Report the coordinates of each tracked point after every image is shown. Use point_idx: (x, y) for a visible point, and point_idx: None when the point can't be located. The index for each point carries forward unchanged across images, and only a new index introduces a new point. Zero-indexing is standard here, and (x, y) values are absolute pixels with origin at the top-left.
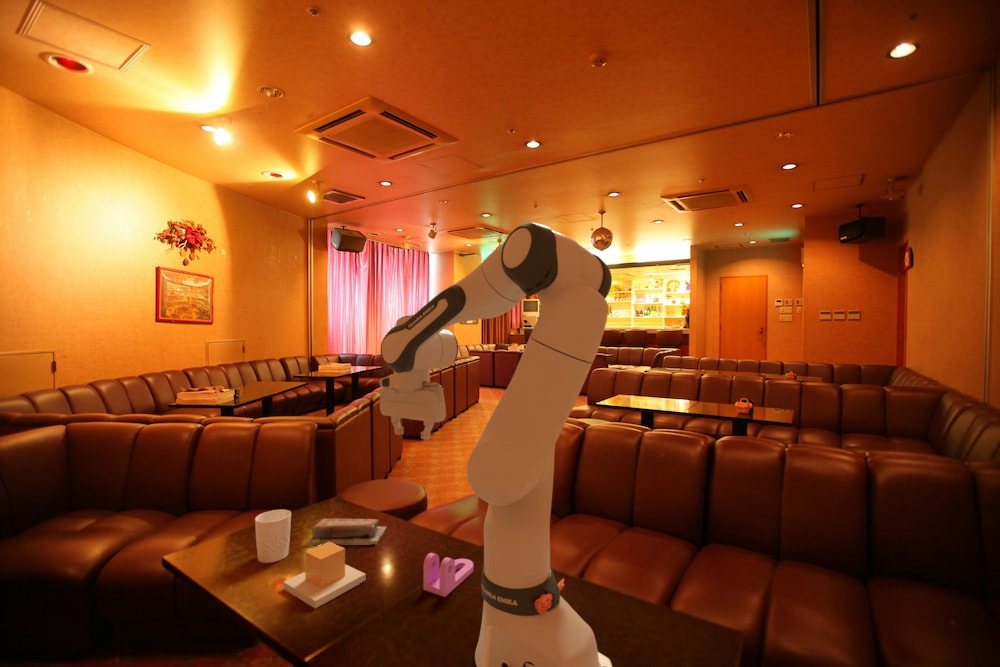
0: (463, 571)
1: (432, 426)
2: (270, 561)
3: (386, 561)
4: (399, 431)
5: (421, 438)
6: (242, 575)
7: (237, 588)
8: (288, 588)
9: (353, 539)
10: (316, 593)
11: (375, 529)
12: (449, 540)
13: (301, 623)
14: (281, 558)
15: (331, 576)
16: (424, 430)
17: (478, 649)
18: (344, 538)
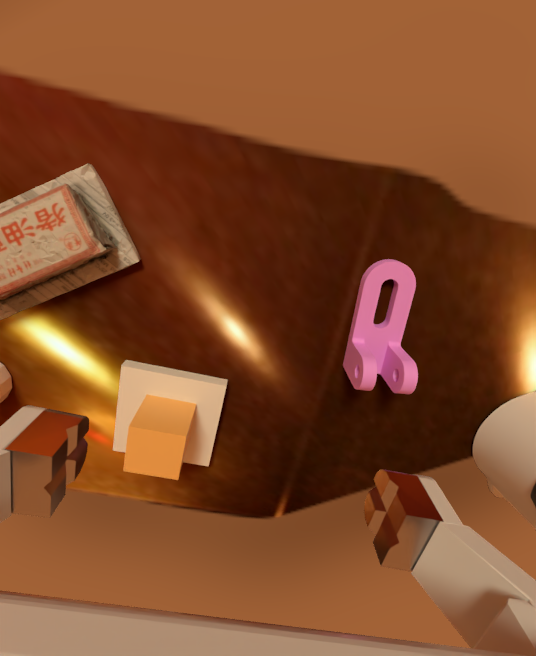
0: (403, 308)
1: (532, 590)
2: (5, 398)
3: (216, 310)
4: (65, 469)
5: (367, 510)
6: None
7: None
8: None
9: (78, 273)
10: (193, 453)
11: (81, 201)
12: (301, 162)
13: (219, 483)
14: (10, 382)
15: (189, 434)
16: (437, 595)
17: (489, 474)
18: (53, 277)
